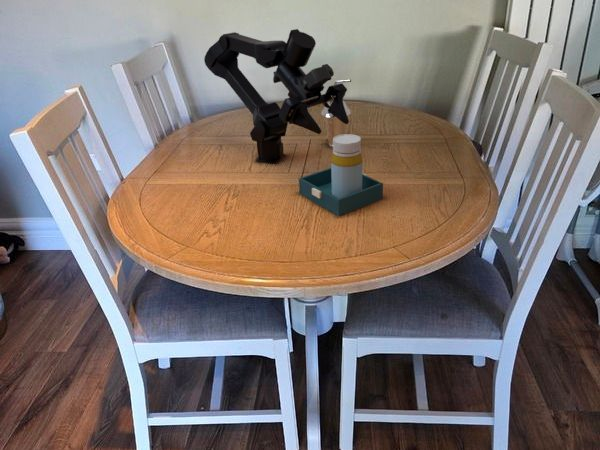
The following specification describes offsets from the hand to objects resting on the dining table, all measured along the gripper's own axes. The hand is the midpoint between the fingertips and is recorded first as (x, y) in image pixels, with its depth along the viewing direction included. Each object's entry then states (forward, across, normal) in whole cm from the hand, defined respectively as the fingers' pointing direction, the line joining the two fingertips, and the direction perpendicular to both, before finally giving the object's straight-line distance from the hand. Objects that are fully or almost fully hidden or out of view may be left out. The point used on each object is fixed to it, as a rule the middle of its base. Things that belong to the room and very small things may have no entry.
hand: (334, 127), depth 114 cm
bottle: (+15, -4, +8) cm, 17 cm away
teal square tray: (+13, -4, +9) cm, 16 cm away
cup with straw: (-7, +20, +23) cm, 31 cm away
